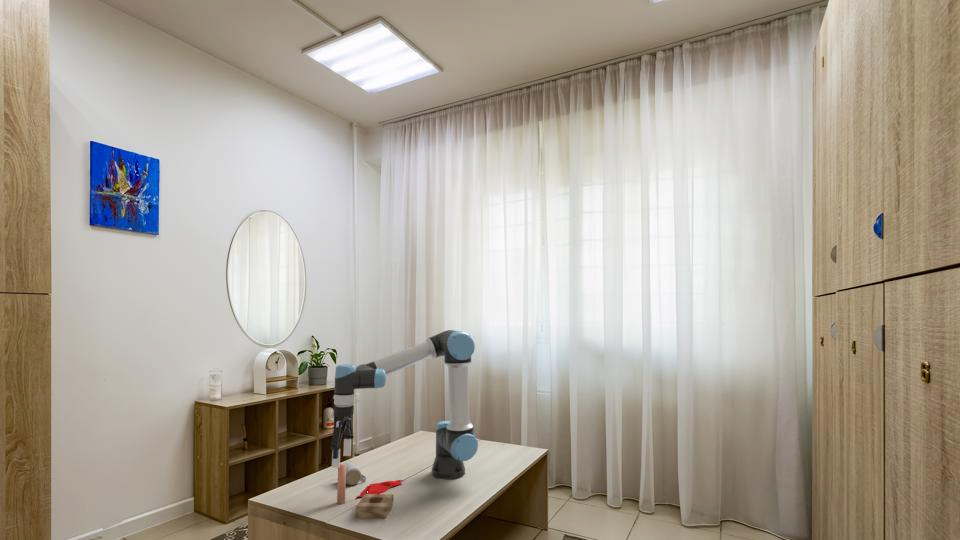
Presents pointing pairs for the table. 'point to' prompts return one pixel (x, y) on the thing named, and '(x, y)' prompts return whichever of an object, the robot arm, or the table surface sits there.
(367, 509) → the square frame
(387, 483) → the cloth
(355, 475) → the ceramic mug
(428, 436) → the table surface
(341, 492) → the dowel
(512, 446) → the table surface
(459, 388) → the robot arm
